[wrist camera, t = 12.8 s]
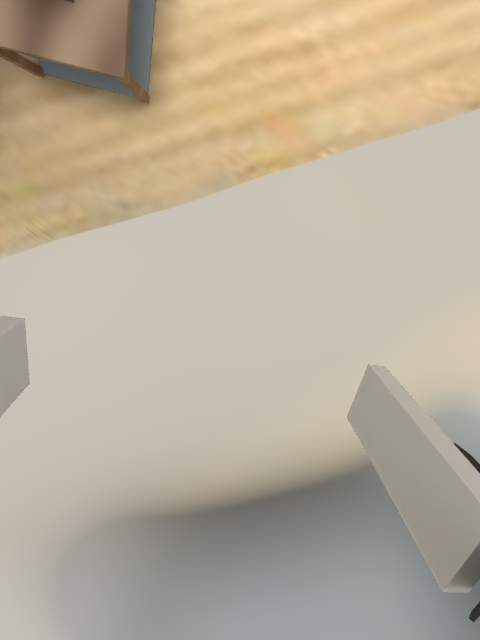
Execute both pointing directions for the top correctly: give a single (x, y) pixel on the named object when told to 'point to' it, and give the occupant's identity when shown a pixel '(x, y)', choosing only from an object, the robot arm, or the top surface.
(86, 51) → the brown legged piece
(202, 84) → the top surface
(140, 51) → the mat
